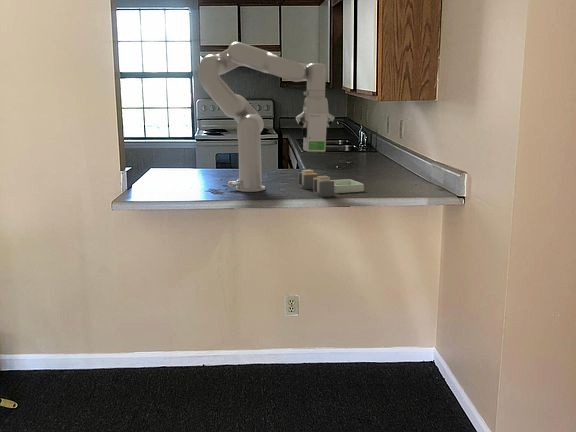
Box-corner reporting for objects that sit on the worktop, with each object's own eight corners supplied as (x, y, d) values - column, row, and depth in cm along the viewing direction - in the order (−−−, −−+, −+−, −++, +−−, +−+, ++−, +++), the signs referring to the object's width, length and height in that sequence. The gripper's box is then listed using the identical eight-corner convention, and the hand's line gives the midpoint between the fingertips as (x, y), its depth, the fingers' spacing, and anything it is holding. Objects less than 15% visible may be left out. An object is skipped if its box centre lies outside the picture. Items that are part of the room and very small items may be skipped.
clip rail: (319, 196, 247) (319, 180, 245) (297, 186, 270) (297, 171, 269) (334, 195, 249) (335, 180, 247) (311, 185, 272) (311, 170, 271)
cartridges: (320, 195, 249) (320, 177, 247) (301, 186, 269) (301, 170, 267) (329, 195, 250) (330, 177, 248) (310, 186, 270) (310, 169, 269)
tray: (336, 193, 254) (336, 186, 254) (323, 187, 267) (323, 180, 266) (363, 191, 258) (363, 184, 258) (349, 185, 271) (350, 179, 270)
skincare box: (307, 152, 252) (307, 113, 248) (302, 150, 258) (303, 112, 254) (326, 151, 254) (327, 113, 250) (321, 149, 260) (322, 112, 256)
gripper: (299, 94, 244) (298, 138, 248) (339, 94, 250) (337, 137, 254) (292, 94, 251) (292, 136, 255) (331, 94, 257) (330, 135, 261)
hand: (314, 137), depth 254 cm, fingers closed on skincare box, 8 cm apart
